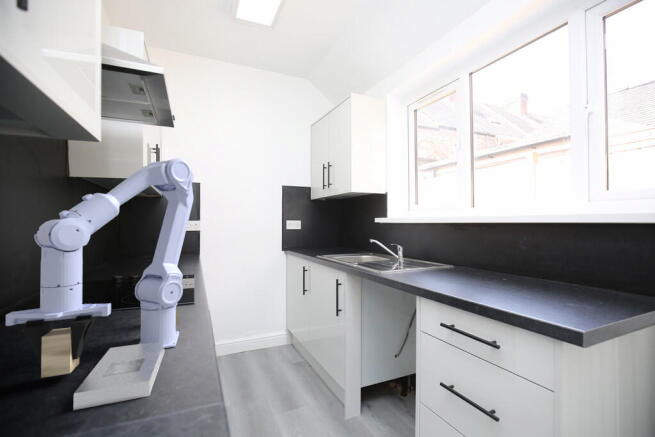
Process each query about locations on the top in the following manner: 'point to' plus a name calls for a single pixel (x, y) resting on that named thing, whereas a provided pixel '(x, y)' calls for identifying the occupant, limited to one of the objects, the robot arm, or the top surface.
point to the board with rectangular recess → (121, 375)
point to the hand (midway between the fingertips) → (61, 359)
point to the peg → (57, 353)
